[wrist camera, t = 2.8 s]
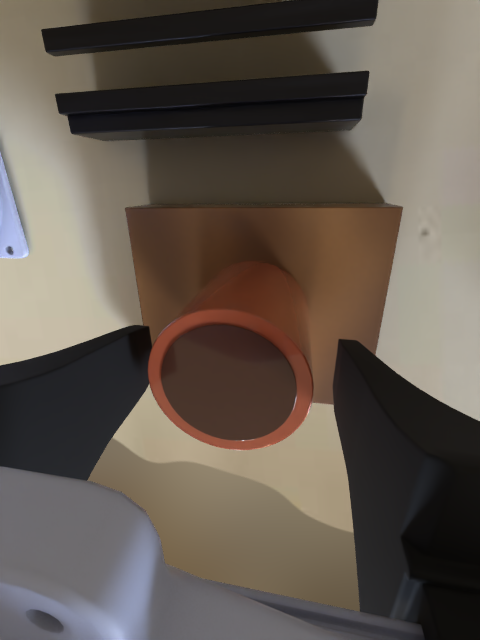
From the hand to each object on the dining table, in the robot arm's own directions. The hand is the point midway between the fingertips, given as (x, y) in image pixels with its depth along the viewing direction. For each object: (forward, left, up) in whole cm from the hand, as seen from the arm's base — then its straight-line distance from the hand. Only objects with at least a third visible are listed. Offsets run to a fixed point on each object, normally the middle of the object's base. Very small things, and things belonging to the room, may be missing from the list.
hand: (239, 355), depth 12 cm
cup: (0, 0, -4) cm, 4 cm away
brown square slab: (0, 0, -6) cm, 7 cm away
